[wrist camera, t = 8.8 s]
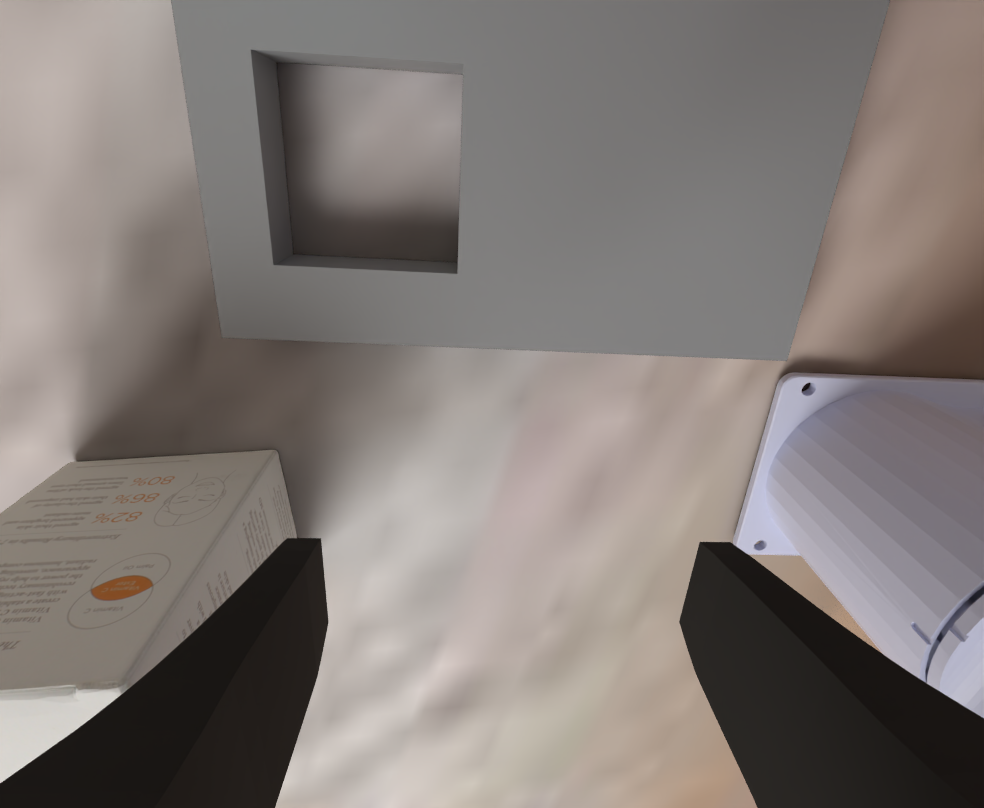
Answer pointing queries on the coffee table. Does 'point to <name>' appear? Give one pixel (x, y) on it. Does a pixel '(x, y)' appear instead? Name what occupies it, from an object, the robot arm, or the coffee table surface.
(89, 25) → the coffee table surface
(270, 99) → the pocket board
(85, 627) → the small box
